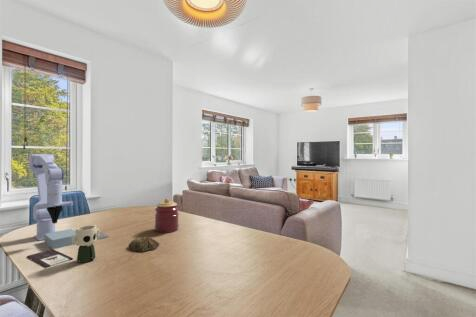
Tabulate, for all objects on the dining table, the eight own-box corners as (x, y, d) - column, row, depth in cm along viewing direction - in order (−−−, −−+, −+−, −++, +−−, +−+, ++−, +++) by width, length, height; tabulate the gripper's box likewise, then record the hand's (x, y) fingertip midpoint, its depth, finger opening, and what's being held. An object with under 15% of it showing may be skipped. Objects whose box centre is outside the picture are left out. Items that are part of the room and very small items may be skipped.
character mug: (77, 267, 92) (77, 232, 92) (66, 263, 96) (66, 229, 96) (104, 256, 102) (104, 225, 102) (93, 253, 105) (93, 223, 105)
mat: (71, 235, 129) (71, 235, 129) (96, 230, 138) (96, 230, 138) (82, 242, 118) (82, 242, 118) (108, 236, 128) (108, 236, 128)
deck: (44, 242, 119) (44, 233, 119) (71, 236, 128) (71, 228, 128) (52, 249, 110) (52, 240, 110) (80, 242, 119) (80, 234, 119)
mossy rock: (125, 247, 114) (125, 236, 113) (150, 241, 123) (150, 230, 122) (138, 255, 105) (138, 243, 105) (164, 247, 114) (164, 236, 114)
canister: (183, 228, 143) (183, 197, 143) (165, 234, 132) (165, 201, 132) (167, 225, 150) (167, 195, 150) (149, 230, 139) (149, 198, 139)
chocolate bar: (52, 249, 109) (72, 258, 100) (52, 251, 109) (72, 260, 100) (26, 255, 102) (46, 266, 92) (26, 258, 102) (46, 269, 92)
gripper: (37, 196, 109) (37, 227, 109) (75, 193, 120) (75, 221, 120) (33, 195, 113) (33, 224, 113) (70, 191, 124) (70, 218, 125)
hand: (54, 222), depth 117 cm, fingers closed
